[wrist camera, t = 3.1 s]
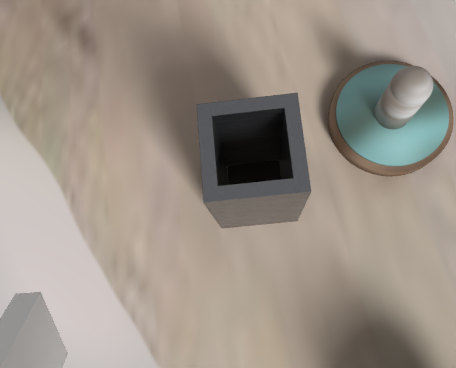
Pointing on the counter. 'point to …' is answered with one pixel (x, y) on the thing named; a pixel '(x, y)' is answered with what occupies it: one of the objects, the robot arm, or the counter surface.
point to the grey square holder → (253, 159)
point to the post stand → (390, 118)
